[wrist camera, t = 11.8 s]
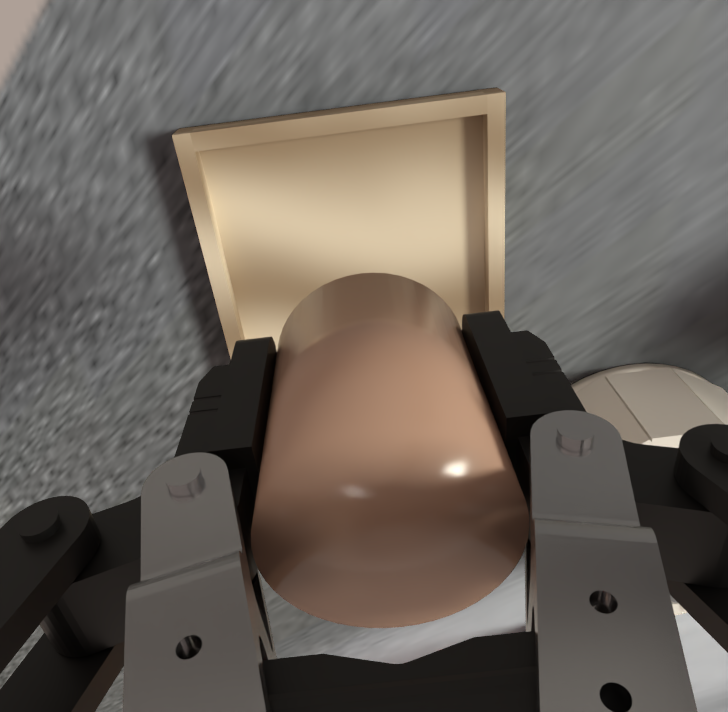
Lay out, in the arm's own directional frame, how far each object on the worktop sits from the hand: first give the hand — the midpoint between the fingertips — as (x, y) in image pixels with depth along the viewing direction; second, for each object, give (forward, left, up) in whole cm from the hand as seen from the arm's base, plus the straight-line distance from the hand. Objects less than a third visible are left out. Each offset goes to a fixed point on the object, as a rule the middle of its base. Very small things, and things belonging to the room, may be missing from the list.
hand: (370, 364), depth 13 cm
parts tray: (+4, 0, -12) cm, 12 cm away
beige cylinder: (0, 0, 0) cm, 0 cm away
